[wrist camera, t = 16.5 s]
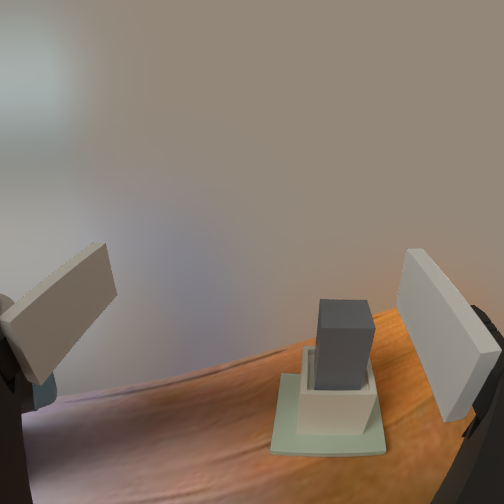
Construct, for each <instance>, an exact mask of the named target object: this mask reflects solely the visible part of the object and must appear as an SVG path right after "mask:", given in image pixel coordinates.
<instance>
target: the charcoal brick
mask: <svg viewBox="0 0 504 504" xmlns="http://www.w3.org/2000/svg"><path fill="white" fill-rule="evenodd" d="M374 333H375V325H374V321H373V318H372V315H371V312H370V308H369V305H368V302H367V300H328V299H320V304H319V316H318V327H317V337H316V347H315V356H314V390H330V391H346V390H361V386H362V383H363V379H364V375H365V371H366V367H367V363H368V359H369V355H370V351H371V347H372V342H373V338H374Z"/></svg>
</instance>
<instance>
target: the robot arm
mask: <svg viewBox="0 0 504 504" xmlns="http://www.w3.org/2000/svg"><path fill="white" fill-rule="evenodd" d="M116 296H117V292H116V288H115V284H114V279H113V275H112V271H111V266H110V262H109V257H108V252H107V247H106V243H92V244H91V245H89V246H88V247H87V248H85V249H84V250H82V251H81V252H80V253H78V254H77V255H76V256H74V257H73V258H72V259H70V260H69V261H68V262H66V263H65V264H64V265H62V266H61V267H60V268H58V269H57V270H56V271H54V272H53V273H52V274H51V275H49V276H48V277H47V278H46V279H44V280H43V281H42V282H40V283H39V284H38V285H37V286H36V287H34V288H33V289H32V290H31V291H29V292H28V293H27V294H26V295H25V296H23V297H22V298H21V299H20V300H18V301H17V302H16V303H14V302H13V300H11V299H10V298H9V297H7V296H5V295H3V294H0V504H33V501H32V496H31V491H30V486H29V480H28V474H27V468H26V461H25V452H24V443H23V432H22V418H21V414H23V413H27V412H31V411H37V410H38V409H39V408H42V407H45V406H47V405H50V404H52V403H53V402H54V401H55V400H56V397H57V388H56V383H55V378H54V375H53V370H54V369H55V368H56V367H57V365H58V364H59V363H60V362H61V360H62V359H63V358H64V357H65V356H66V354H67V353H68V352H69V351H70V349H71V348H72V347H73V346H74V345H75V343H76V342H77V341H78V340H79V339H80V337H81V336H82V335H83V334H84V333H85V332H86V330H87V329H88V328H89V327H90V326H91V325H92V323H93V322H94V321H95V320H96V319H97V318H98V316H99V315H100V314H101V313H102V312H103V311H104V310H105V308H106V307H107V306H108V305H109V304H110V303H111V302H112V301H113V299H114V298H115V297H116ZM396 307H397V310H398V312H399V314H400V316H401V318H402V320H403V322H404V325H405V327H406V329H407V331H408V333H409V336H410V338H411V340H412V343H413V345H414V347H415V349H416V352H417V354H418V357H419V359H420V361H421V364H422V366H423V369H424V371H425V374H426V376H427V379H428V381H429V384H430V386H431V389H432V391H433V394H434V397H435V399H436V402H437V405H438V408H439V410H440V413H441V416H442V419H443V422H444V423H446V422H451V421H456V420H461V419H464V418H465V417H466V415H467V413H468V412H469V410H470V409H471V407H472V406H473V408H474V411H475V413H476V416H475V417H474V419H473V420H472V422H471V423H470V425H469V426H468V428H467V429H466V431H465V432H464V433H463V435H462V436H461V437H465V438H464V441H463V443H462V445H461V447H460V449H459V451H458V453H457V456H456V458H455V460H454V462H453V464H452V466H451V468H450V469H449V471H448V473H447V475H446V477H445V479H444V481H443V482H442V484H441V486H440V488H439V490H438V491H437V493H436V495H435V496H434V498H433V500H432V501H431V503H430V504H504V338H503V336H502V335H501V334H500V332H499V331H497V328H496V327H495V326H494V324H493V323H491V320H490V319H489V318H488V316H487V315H486V314H485V313H484V312H483V311H482V310H480V309H479V308H478V307H476V306H475V305H469V304H468V303H467V301H466V300H465V299H464V297H463V296H462V295H461V294H460V293H459V291H458V290H457V289H456V287H455V286H454V285H453V284H452V282H451V281H450V280H449V279H448V278H447V276H446V275H445V274H444V273H443V272H442V270H441V269H440V268H439V267H438V266H437V265H436V263H435V262H434V261H433V260H432V259H431V258H430V257H429V255H428V254H427V253H426V252H425V251H424V250H423V249H411V248H409V249H408V248H407V249H406V255H405V261H404V267H403V272H402V277H401V283H400V288H399V293H398V297H397V302H396Z"/></svg>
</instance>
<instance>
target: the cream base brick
mask: <svg viewBox="0 0 504 504" xmlns="http://www.w3.org/2000/svg"><path fill="white" fill-rule="evenodd" d="M315 347H316V346H303V354H302V366H301V378H300V389H299V403H298V416H297V428H296V434H305V435H359V434H363V432H364V429H365V426H366V424H367V421H368V418H369V416H370V413H371V410H372V407H373V405H374V402H375V399H376V396H377V391H376V386H375V380H374V375H373V370H372V365H371V360H370V355H369V359H368V363H367V367H366V371H365V375H364V379H363V383H362V386H361V390H346V391H330V390H314V356H315Z"/></svg>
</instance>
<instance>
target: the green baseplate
mask: <svg viewBox="0 0 504 504" xmlns="http://www.w3.org/2000/svg"><path fill="white" fill-rule="evenodd" d="M373 375H374V374H373ZM300 378H301V374H292V373H281V378H280V386H279V393H278V401H277V408H276V415H275V421H274V428H273V435H272V441H271V448H270V454H272V455H286V456H309V457H347V456H370V455H384V454H385V453H386V444H385V437H384V430H383V423H382V417H381V411H380V405H379V399H378V393H377V396H376V399H375V402H374V405H373V407H372V410H371V413H370V416H369V418H368V421H367V424H366V426H365V429H364V432H363V434H359V435H305V434H296V428H297V416H298V403H299V389H300ZM374 380H375V377H374ZM375 386H376V382H375ZM376 391H377V388H376Z"/></svg>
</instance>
